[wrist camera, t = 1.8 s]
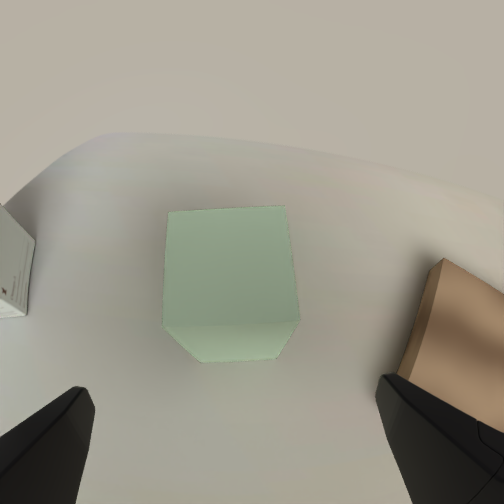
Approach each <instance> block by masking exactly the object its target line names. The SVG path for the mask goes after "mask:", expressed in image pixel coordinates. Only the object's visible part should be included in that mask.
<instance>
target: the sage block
mask: <svg viewBox="0 0 504 504" xmlns="http://www.w3.org/2000/svg"><path fill="white" fill-rule="evenodd" d="M299 322H300V314H299V306H298V297H297V290H296V282H295V274H294V266H293V259H292V252H291V245H290V237H289V230H288V224H287V217H286V210H285V206H262V207H240V208H221V209H205V210H189V211H175V212H168V221H167V233H166V247H165V262H164V280H163V305H162V328H163V329H164V330H165V331H166V332H168V333H169V334H170V335H171V336H172V337H173V338H174V339H175V340H176V341H177V342H178V343H179V344H180V345H181V346H182V347H184V348H185V349H186V350H187V351H188V352H189V353H190V354H191V355H192V356H193V357H195V358H196V359H197V360H198V361H199V362H200V363H216V362H239V361H256V360H270V359H277V357H278V356H279V354H280V352H281V351H282V349H283V348H284V346H285V344H286V343H287V341H288V340H289V338H290V336H291V335H292V333H293V331H294V330H295V328H296V327H297V325H298V323H299Z"/></svg>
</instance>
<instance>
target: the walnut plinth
mask: <svg viewBox="0 0 504 504" xmlns="http://www.w3.org/2000/svg"><path fill="white" fill-rule="evenodd" d="M397 374H398V375H400V376H401V377H403V378H405V379H406V380H408V381H410V382H412V383H413V384H415V385H417V386H419V387H420V388H422V389H424V390H426V391H427V392H429V393H431V394H433V395H434V396H436V397H438V398H440V399H441V400H443V401H445V402H447V403H449V404H450V405H452V406H454V407H456V408H457V409H459V410H461V411H463V412H465V413H466V414H468V415H470V416H472V417H474V418H476V419H477V420H479V421H481V422H483V423H485V424H487V425H489V426H491V427H493V428H495V429H497V430H499V431H501V432H503V433H504V294H503V293H501V292H500V291H498V290H496V289H495V288H493V287H492V286H490V285H489V284H487V283H485V282H484V281H482V280H480V279H479V278H477V277H476V276H474V275H472V274H471V273H469V272H467V271H466V270H464V269H462V268H461V267H459V266H457V265H455V264H454V263H452V262H450V261H449V260H447V259H445V258H443V259H442V260H441V261H440V262H439V263H438V264H436V265H435V266H434V267H433V268H432V269H431V270H430V271H429V273H428V277H427V281H426V285H425V289H424V292H423V296H422V300H421V303H420V307H419V310H418V313H417V316H416V320H415V323H414V326H413V329H412V332H411V335H410V338H409V341H408V344H407V347H406V350H405V352H404V355H403V358H402V361H401V363H400V366H399V369H398V371H397Z"/></svg>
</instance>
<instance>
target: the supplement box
mask: <svg viewBox="0 0 504 504" xmlns="http://www.w3.org/2000/svg"><path fill="white" fill-rule="evenodd" d="M34 247H35V240H34V239H33V238H32V237H31V236H30V235H29V234H28V233H27V232H26V231H25V230H24V229H23V228H22V227H21V226H20V225H19V224H18V222H17V221H16V220H15V219H14V218H13V217H12V216H11V215H10V214H9V213H8V212H7V210H6V209H5V208H4V207H3V206H2V205H1V204H0V318H6V317H16V316H17V317H18V316H26V314H27V296H28V285H29V277H30V270H31V264H32V257H33V252H34Z"/></svg>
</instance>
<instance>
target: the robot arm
mask: <svg viewBox="0 0 504 504" xmlns="http://www.w3.org/2000/svg"><path fill="white" fill-rule="evenodd" d="M375 397H376V402H377V406H378V409H379V413H380V416H381V420H382V423H383V427H384V430H385V434H386V437H387V440H388V443H389V445H390V448H391V450H392V453H393V455H394V458H395V460H396V462H397V465H398V467H399V470H400V472H401V475H402V478H403V480H404V483H405V485H406V488H407V490H408V493H409V496H410V498H411V501H412V503H413V504H504V433H503V432H501V431H499V430H497V429H495V428H493V427H491V426H489V425H487V424H485V423H483V422H481V421H479V420H477V419H476V418H474V417H472V416H470V415H468V414H466V413H465V412H463V411H461V410H459V409H457V408H456V407H454V406H452V405H450V404H449V403H447V402H445V401H443V400H441V399H440V398H438V397H436V396H434V395H433V394H431V393H429V392H427V391H426V390H424V389H422V388H420V387H419V386H417V385H415V384H413V383H412V382H410V381H408V380H406V379H405V378H403V377H401V376H400V375H398V374H396V373H394V372H391V373H386V374H382V375H381V376H380V379H379V383H378V386H377V390H376V395H375ZM94 416H95V406H94V404H93V401H92V399H91V397H90V395H89V392H88V390H87V389H86V388H84V387H78V386H74V387H72V388H71V389H69V390H68V391H66V392H65V393H63V394H62V395H61V396H59V397H58V398H56V399H55V400H53V401H52V402H50V403H49V404H48V405H46V406H45V407H43V408H42V409H40V410H39V411H37V412H36V413H34V414H33V415H32V416H30V417H29V418H27V419H26V420H24V421H23V422H21V423H20V424H18V425H17V426H16V427H14V428H13V429H11V430H10V431H8V432H7V433H5V434H4V435H2V436H1V437H0V504H75V503H76V499H77V494H78V490H79V486H80V482H81V478H82V474H83V470H84V466H85V462H86V459H87V455H88V451H89V445H90V439H91V433H92V427H93V421H94Z"/></svg>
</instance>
